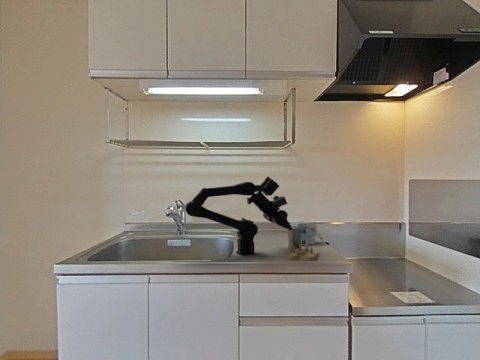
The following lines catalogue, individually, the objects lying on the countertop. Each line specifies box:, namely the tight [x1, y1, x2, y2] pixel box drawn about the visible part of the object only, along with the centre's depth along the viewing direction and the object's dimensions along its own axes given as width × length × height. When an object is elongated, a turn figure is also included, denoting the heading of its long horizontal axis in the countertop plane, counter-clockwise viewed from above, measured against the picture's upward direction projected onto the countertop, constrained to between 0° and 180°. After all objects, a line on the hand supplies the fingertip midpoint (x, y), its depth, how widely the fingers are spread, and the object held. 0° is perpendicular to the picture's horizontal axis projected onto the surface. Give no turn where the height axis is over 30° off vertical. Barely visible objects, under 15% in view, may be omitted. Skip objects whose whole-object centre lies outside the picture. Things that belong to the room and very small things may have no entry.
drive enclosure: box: [287, 227, 301, 251], centre depth 164 cm, size 4×5×10 cm
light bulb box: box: [289, 219, 316, 246], centre depth 179 cm, size 11×7×11 cm, turn 115°
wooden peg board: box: [286, 244, 318, 261], centre depth 152 cm, size 11×12×4 cm
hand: (287, 227), depth 163 cm, fingers open, 9 cm apart
